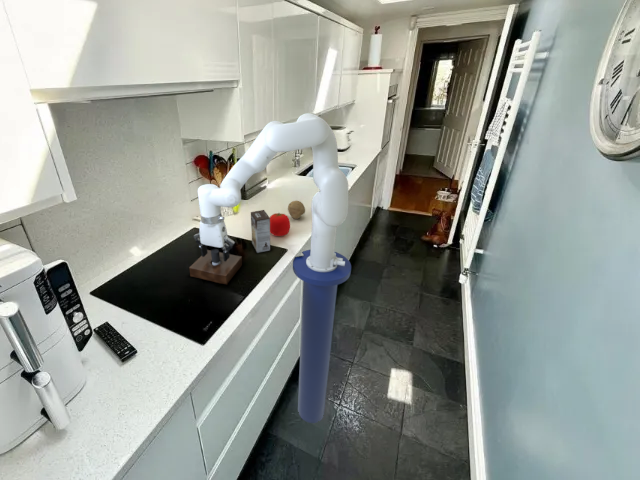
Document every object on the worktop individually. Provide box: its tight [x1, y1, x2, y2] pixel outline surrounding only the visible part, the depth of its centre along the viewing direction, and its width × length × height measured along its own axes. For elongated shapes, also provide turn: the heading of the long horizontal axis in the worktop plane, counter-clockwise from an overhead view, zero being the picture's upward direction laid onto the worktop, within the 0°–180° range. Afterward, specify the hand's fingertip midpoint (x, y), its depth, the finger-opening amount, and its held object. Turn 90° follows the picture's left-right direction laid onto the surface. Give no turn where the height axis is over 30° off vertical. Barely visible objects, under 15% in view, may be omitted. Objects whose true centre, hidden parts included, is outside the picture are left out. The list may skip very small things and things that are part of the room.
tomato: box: [269, 212, 291, 237], centre depth 146 cm, size 10×11×11 cm
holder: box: [188, 249, 243, 286], centre depth 122 cm, size 16×14×4 cm
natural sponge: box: [287, 200, 306, 220], centre depth 162 cm, size 9×9×10 cm
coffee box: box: [250, 209, 271, 254], centre depth 135 cm, size 9×6×16 cm
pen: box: [210, 248, 220, 265], centre depth 121 cm, size 3×3×9 cm
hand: (215, 257), depth 121 cm, fingers open, 9 cm apart
